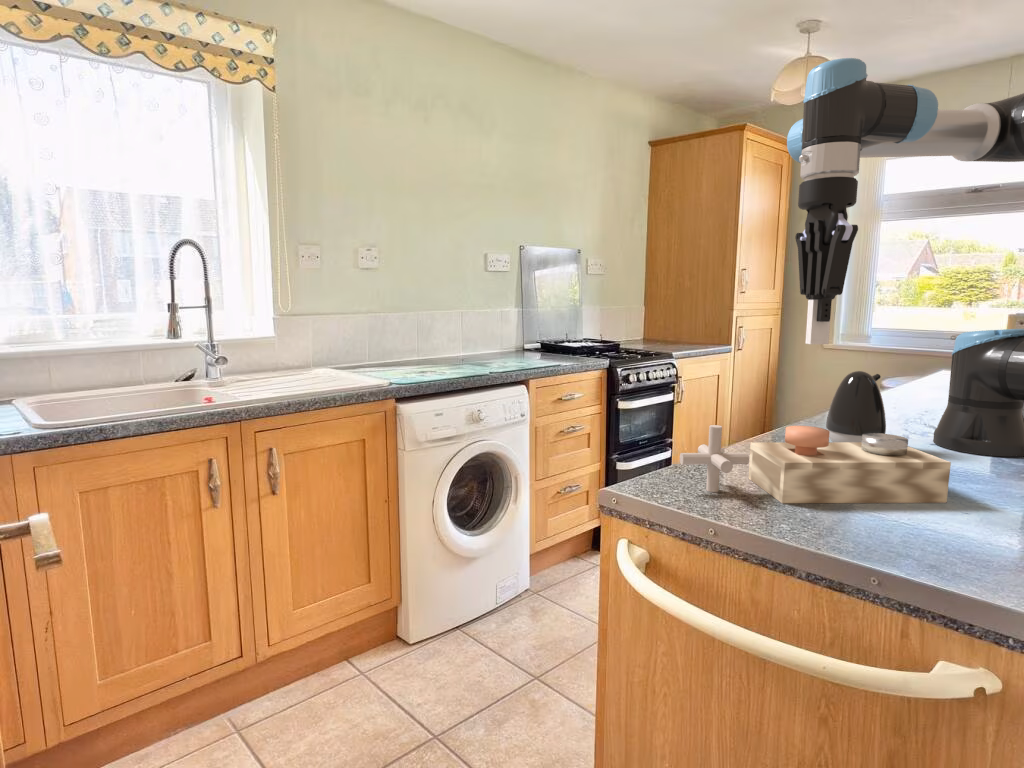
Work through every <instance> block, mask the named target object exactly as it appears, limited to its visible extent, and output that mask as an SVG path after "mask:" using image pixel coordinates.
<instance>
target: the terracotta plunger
mask: <svg viewBox="0 0 1024 768" xmlns="http://www.w3.org/2000/svg"><path fill="white" fill-rule="evenodd" d="M829 434H830V432H829V431H828V429H827V428H826V429H825V428H821V427H817V426H809V425H788V426H786V427H785V435H784V442H786V443H788V444H791V445H795V453H796V454H798V455H817V448H821V447H827V446H828V445H829V442H830V437H829Z"/></svg>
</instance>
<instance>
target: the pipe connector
mask: <svg viewBox="0 0 1024 768" xmlns="http://www.w3.org/2000/svg"><path fill="white" fill-rule="evenodd" d="M722 431H723V426H722V425H718V424H710V425H709V429H708V445H707V444H704V443H703V444H701V445H699V446H698V448H697V452H680V453H679V463H680V465H681V466H682V465H686V466H687V465H690V466H691V465H692V466H693V465H694V466H695V465H697V466H699V465H704V466H705V465H707V466H706V467H707V468H706V469H707V470H706V486H705V489H706V491H707V492H710V493H718V492H719V489H720V488H719V487H720V472H722V473H724V474H729V473H730V472H732V471H733V468H734V466H733V465H748V464H749V461H750V455H749V454H748V452H721V451H722V438H723V437H722V435H723V432H722Z"/></svg>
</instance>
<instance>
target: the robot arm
mask: <svg viewBox="0 0 1024 768" xmlns="http://www.w3.org/2000/svg"><path fill="white" fill-rule="evenodd" d="M868 76H869V75H868V73H867V63H866V62H864V61H863V60H861V59H860V58H855V57H844V58H836V59H831V60H828V61H825V62H822V63H820V64H818V65H816V66H814V67H813V68H812V69H811V70H810V71H809V73H808V74H807V77H806V83H805V88H804V89H805V90H804V99H803V113H802V114H803V116H802V118H801V119H799V120H797V121H796V122H795V123H793V125H792V126H791V128H790V129H789V131H788V133H787V137H786V148H787V151H788V155H790V157H791V158H792V159H793V160H794V161H795V162H797V163H799V164H800V175H799V177H800V179H801V180H802V182H801V183H800V184H799V185H798V198H797V199H798V200H797V207H798V208H799V209H800V210H803V211H804V210H805V211H806V213H807V214H806V218H805V221H804V227H805V228H804V230H803V231H802V232H796V233H795V238H794V239H795V243H796V246H797V254H798V255H797V257H798V258H797V259H798V275H799V276H798V278H799V293H800V295H802V296H805V298H806V299H807V300H808V301H807V312H806V313H807V315H806V329H805V345H829V342H830V331H831V330H830V327H831V313H832V301H833V300H834V299H836V296H841V295H842V294H843V291H844V286H845V280H846V277H847V273H848V268H849V263H850V257H851V254H852V248H853V243H854V240H855V238H856V237H857V234H858V231H859V226H858V224H850V223H849V222H848V217H849V215H848V211H847V209H848V208H851V207H853V206H855V205H856V204H857V197H858V185H859V181H858V180H857V178H855V177H856V176H857V175H858V174H859V173H860V161H861V159H862V158H901V157H902V158H907V157H908V158H909V157H910V158H912V157H913V158H914V157H950V156H951V157H953V158H954V159H955V160H957V161H960V162H986V163H987V162H997V163H1020V162H1023V163H1024V92H1023V93H1020V94H1017V95H1014V96H1011V97H1006V98H1003V99H1000V100H997V101H992V102H988V103H987V102H985V103H984V102H979V103H974V104H971V105H968V106H966V107H965V108H963V109H939V101H938V97H937V95H936V94H935V93H934V92H933V91H932V90H930V89H929V88H924V87H919V86H915V85H914V84H907V85H905V84H895V83H894V84H893V83H885V82H874V81H872V80H867V78H868ZM949 375H950V377H949V388H948V400H947V405H946V408H945V410H944V411H943V414H942V416H941V418H940V420H939V422H938V424H937V427H936V428H935V429H934V432H933V440H932V442H933V443H934V444H935V445H937V446H940V447H942V448H945V449H949V450H952V451H958V452H961V453H962V452H963V453H968V454H975V455H983V456H992V457H1023V456H1024V414H1023V409H1024V407H1023V406H1024V328H1010V329H1009V328H1007V329H1006V328H1005V329H990V330H989V329H988V330H987V329H986V330H973V331H965V332H962V333H959V335H957V336H956V338H955V340H954V345H953V351H952V352H951V366H950V374H949Z"/></svg>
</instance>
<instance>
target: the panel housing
mask: <svg viewBox="0 0 1024 768" xmlns="http://www.w3.org/2000/svg"><path fill="white" fill-rule="evenodd" d="M861 444H862V442H832V441H831V442H830V441H829V445H828V446H827V447H821V448H817V455H798V454H796V453H795V445H791V444H788V443H786V442H785V441H784V442H780V441H779V442H750V445H749V447H750V448H749V463H748V464H749V465H748V479H749V480H750V481H751V482H753V483H754V484H755V485H757V486H758V487H759V488H761V489H762V490H764V491H765V492H766V493H768V494H769V495H770V496H772V497H773V498H774V499H776V500H777V501H778V502H780V503H781V504H899V503H901V504H903V503H904V504H909V503H912V504H929V503H930V504H932V503H933V504H935V503H938V504H940V503H942V504H943V503H947V501H948V493H949V492H948V491H949V483H950V475H951V474H950V473H951V465H952V462H951V461H948V460H945V459H943V458H940V457H938V456H935V455H932V454H929V453H928V452H924V451H921V450H919V449H916V448H914V447H912V446H911V447H910V446H909V445H908V448H907V454H905V455H877V454H875V453H871V452H867V451H865V450H863V449H861Z"/></svg>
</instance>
